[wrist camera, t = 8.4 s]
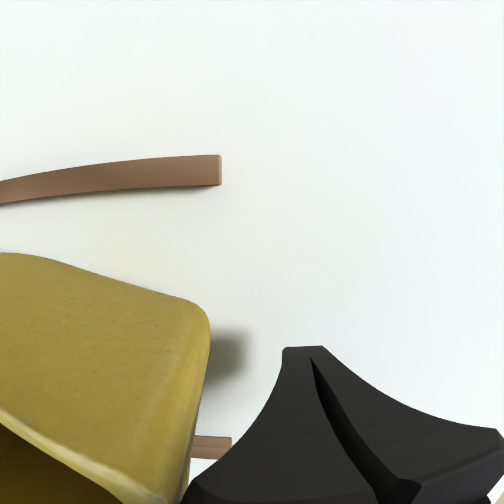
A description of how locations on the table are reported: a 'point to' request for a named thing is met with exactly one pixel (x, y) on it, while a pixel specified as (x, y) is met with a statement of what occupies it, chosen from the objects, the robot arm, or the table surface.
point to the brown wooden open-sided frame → (126, 177)
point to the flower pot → (95, 386)
